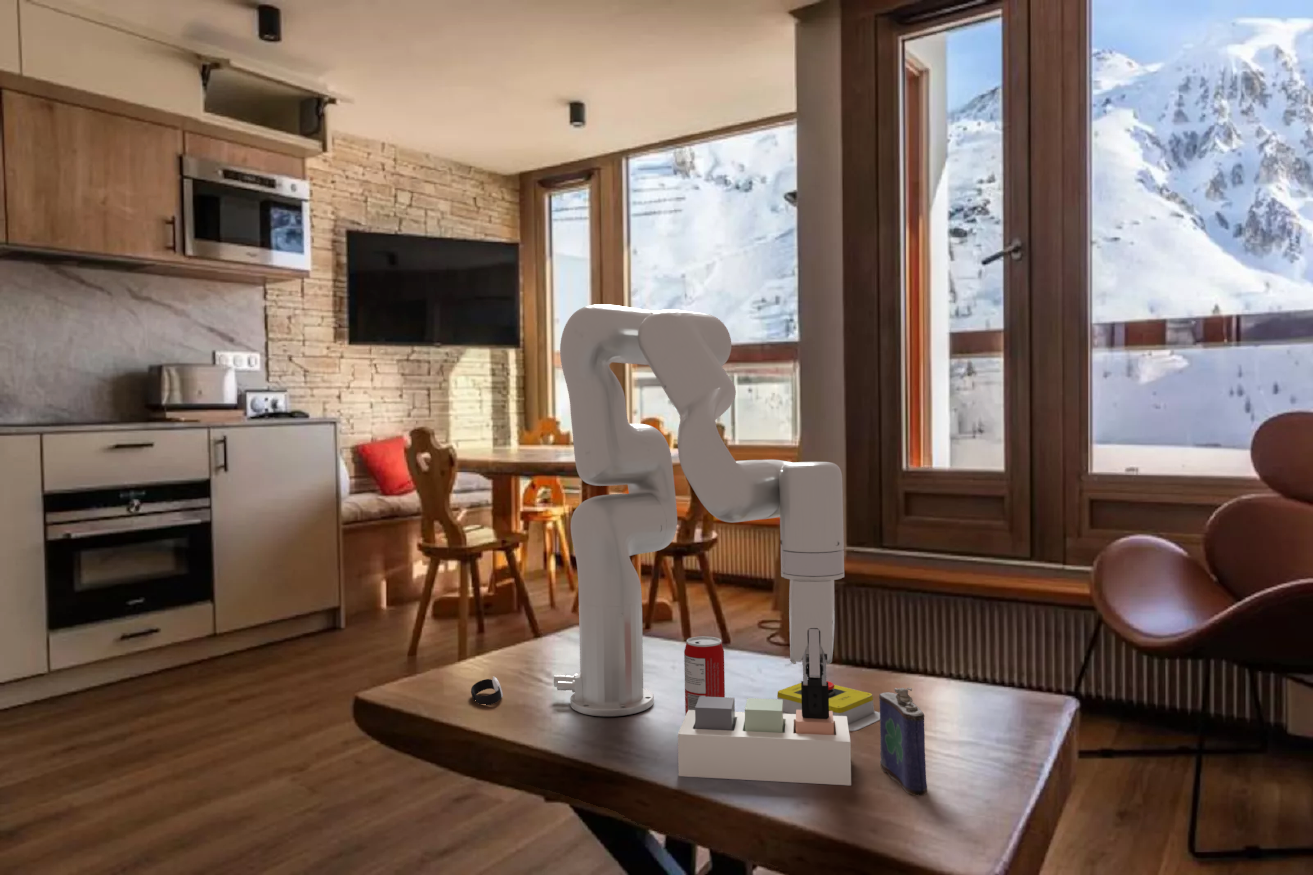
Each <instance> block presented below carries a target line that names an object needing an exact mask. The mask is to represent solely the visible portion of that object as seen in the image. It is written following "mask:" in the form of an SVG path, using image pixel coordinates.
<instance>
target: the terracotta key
mask: <svg viewBox="0 0 1313 875" xmlns="http://www.w3.org/2000/svg"><path fill="white" fill-rule="evenodd" d="M796 733H798V734H821V735H834V722H833V712H832V711H829V718H828V719H814V718H803V717H802V710H796Z"/></svg>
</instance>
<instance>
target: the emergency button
mask: <svg viewBox="0 0 1313 875" xmlns="http://www.w3.org/2000/svg"><path fill="white" fill-rule="evenodd" d="M826 682H828V687H829V711H832V712H833V716H847V721H848V728H849V732H857V731H859V730H861V729H863V728H866V727H868V726H870V725H873V724H875V723H877V722H879V721H880V711H876V710H875V705H874V696H873V694H872V693H870V692H867V691H863V690H858V689H854V688H850V687H846V686H841V685H838V684H834V683H833V682H832V681H830V680H829V681H828V680H826ZM776 699H783V714H796V710H802V696H801V682H799V683H797V684H793V685H790V686H788V687H785V688H781V689H779V690H778V691H777V698H776Z"/></svg>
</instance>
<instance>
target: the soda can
mask: <svg viewBox="0 0 1313 875" xmlns="http://www.w3.org/2000/svg"><path fill="white" fill-rule="evenodd" d="M683 652H684V654H683V655H684V658H683V659H684V660H683V662H684V707H685V708H684V709H685V710H684V713H685V716H686V714H687V712H688V710H695V706H696V704H697V702H698V699H699V697H700V696H702V697H726V690H725V689H726V688H725V686H726V685H725V680H726V678H725V651H724V647H723V643H722V639H721V638H719V637H714V636H694V637H688V638H687V639H686V644H685V646H684V651H683Z"/></svg>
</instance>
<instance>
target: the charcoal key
mask: <svg viewBox="0 0 1313 875" xmlns="http://www.w3.org/2000/svg"><path fill="white" fill-rule="evenodd" d="M735 702H736V700H735V697H726V696H725V697H702V696H700V697H699V699H698V702H697V704H696V706H695V729H708V730H730V731H734V729H735V712H736V711H735V710H736V708H735V704H736V703H735Z"/></svg>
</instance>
